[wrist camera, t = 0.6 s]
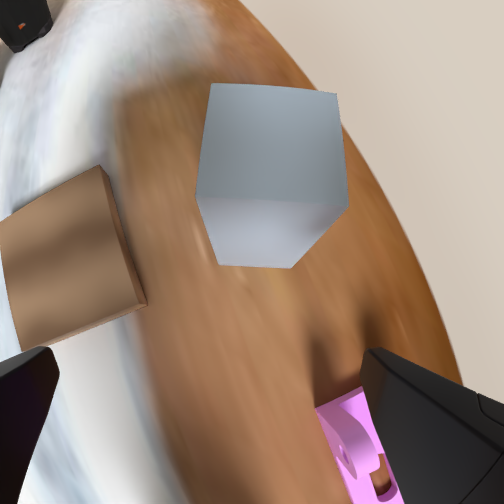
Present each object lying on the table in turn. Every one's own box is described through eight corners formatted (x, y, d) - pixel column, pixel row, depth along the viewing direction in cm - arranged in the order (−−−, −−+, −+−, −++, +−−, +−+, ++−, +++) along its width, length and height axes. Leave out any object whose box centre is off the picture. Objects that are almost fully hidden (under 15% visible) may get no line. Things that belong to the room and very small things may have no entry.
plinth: (148, 305, 20) (138, 303, 18) (36, 350, 19) (21, 351, 17) (108, 175, 22) (99, 164, 20) (10, 230, 21) (-3, 223, 19)
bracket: (314, 407, 19) (345, 441, 13) (381, 374, 20) (432, 390, 13) (358, 520, 17) (388, 563, 10) (413, 489, 18) (454, 522, 11)
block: (290, 268, 21) (348, 206, 10) (218, 264, 21) (194, 196, 10) (291, 201, 23) (336, 93, 11) (223, 197, 22) (211, 83, 11)
